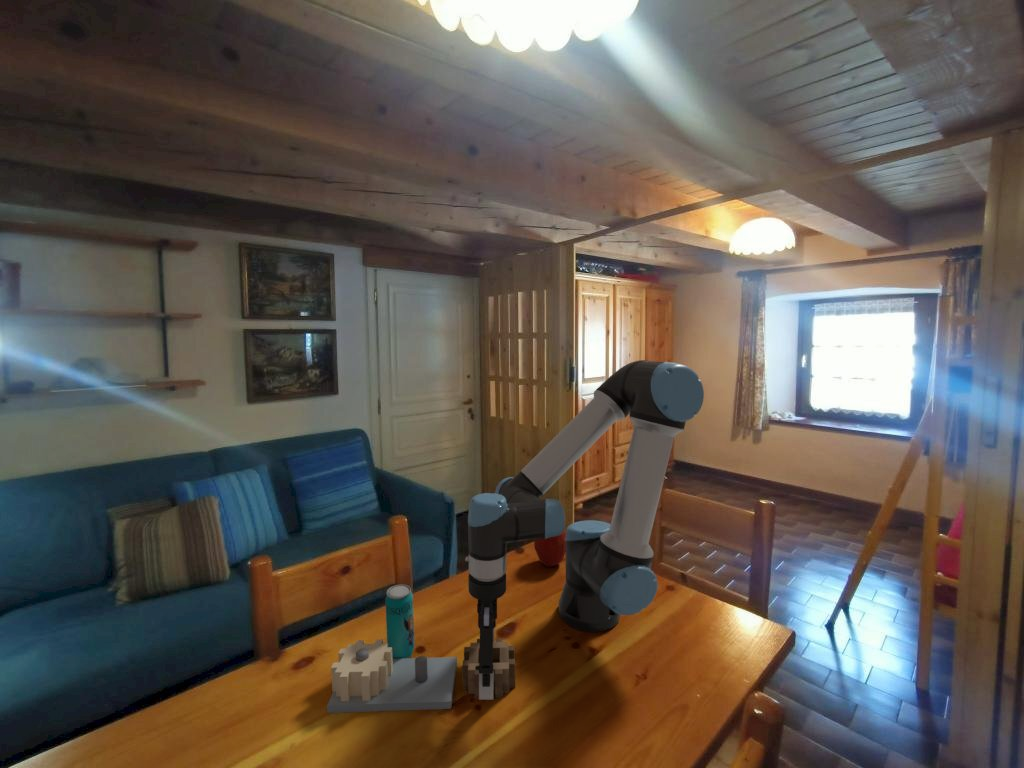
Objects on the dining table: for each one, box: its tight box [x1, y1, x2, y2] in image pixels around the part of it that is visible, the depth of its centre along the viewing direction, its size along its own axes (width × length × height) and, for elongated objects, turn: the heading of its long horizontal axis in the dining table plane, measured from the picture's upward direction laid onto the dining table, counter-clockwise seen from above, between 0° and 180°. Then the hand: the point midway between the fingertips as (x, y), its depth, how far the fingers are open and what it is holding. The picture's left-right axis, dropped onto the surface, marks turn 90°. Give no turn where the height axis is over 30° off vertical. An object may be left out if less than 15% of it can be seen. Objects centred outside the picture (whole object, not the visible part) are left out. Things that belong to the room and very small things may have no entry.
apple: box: [533, 529, 566, 568], centre depth 140 cm, size 10×10×14 cm
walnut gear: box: [461, 637, 516, 699], centre depth 94 cm, size 10×10×5 cm
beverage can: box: [384, 583, 415, 659], centre depth 100 cm, size 6×6×15 cm
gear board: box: [326, 639, 458, 714], centre depth 92 cm, size 23×12×8 cm, turn 91°
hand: (487, 672), depth 94 cm, fingers open, 13 cm apart
